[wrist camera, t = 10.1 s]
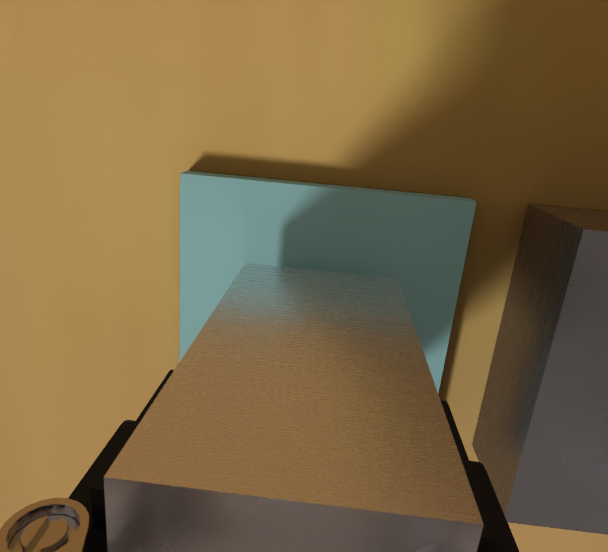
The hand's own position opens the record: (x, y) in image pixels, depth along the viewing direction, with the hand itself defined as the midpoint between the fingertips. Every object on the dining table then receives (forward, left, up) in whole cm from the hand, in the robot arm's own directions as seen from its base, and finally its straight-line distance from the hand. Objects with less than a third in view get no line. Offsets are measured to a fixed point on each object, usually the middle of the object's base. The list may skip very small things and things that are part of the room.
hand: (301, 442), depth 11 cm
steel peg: (0, 0, -6) cm, 6 cm away
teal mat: (0, 0, -8) cm, 8 cm away
